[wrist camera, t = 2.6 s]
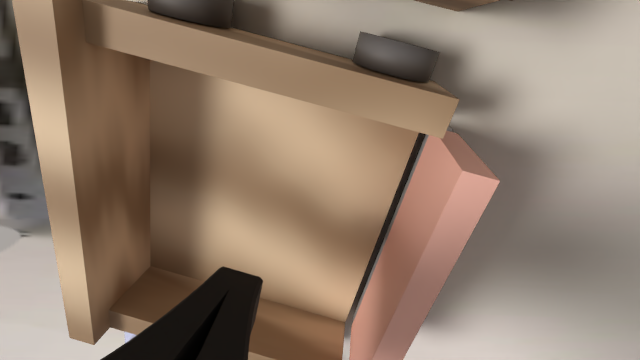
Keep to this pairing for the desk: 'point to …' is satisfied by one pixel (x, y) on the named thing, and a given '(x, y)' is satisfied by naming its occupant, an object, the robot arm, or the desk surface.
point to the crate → (457, 3)
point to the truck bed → (216, 162)
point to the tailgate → (420, 246)
